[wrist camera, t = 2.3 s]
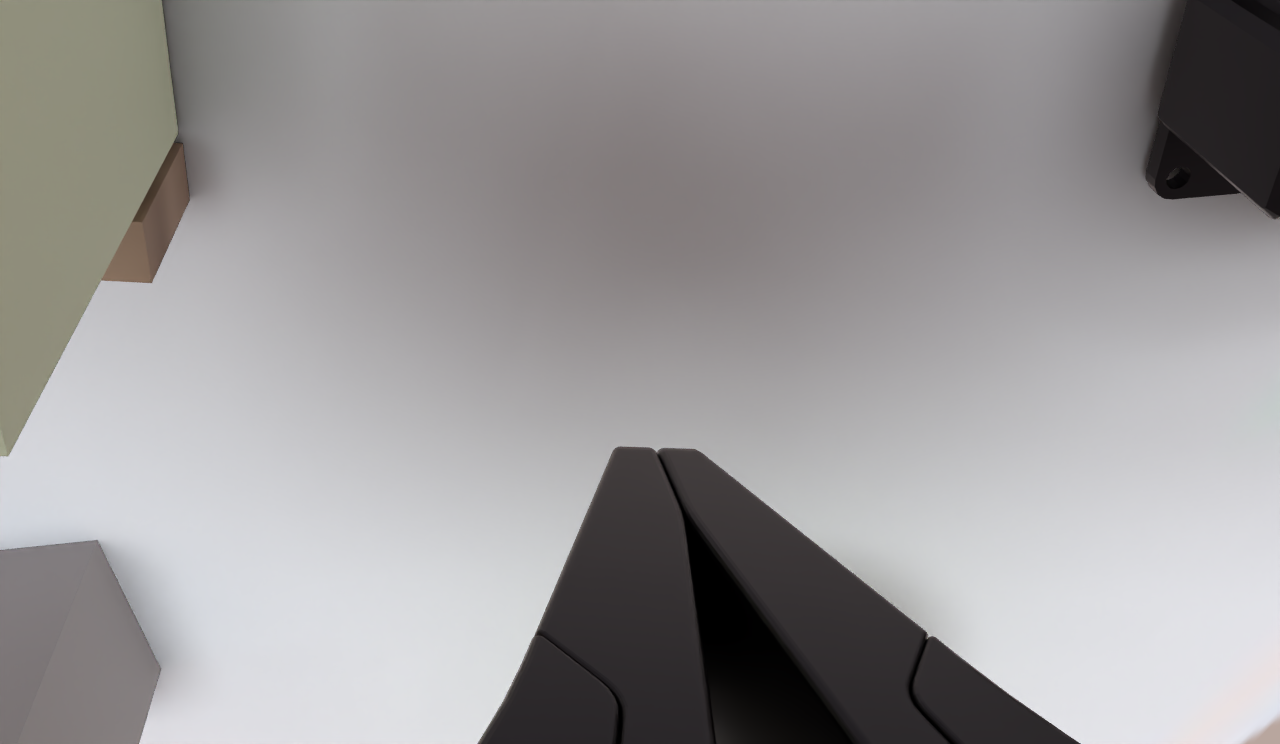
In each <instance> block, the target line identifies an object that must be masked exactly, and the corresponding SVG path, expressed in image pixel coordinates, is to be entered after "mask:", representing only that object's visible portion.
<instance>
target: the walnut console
mask: <svg viewBox="0 0 1280 744" xmlns="http://www.w3.org/2000/svg"><path fill="white" fill-rule="evenodd" d="M189 200H190V198H189V190H188V182H187V174H186V166H185V158H184V150H183V143H173V144H172V146H171V148H170V150H169V152H168V154H167V156H166V158H165V160H164V162H163V163H162V165H161V167H160V169H159V171H158V173H157V175H156V177H155V179H154V181H153V182H152V184H151V186H150V188H149V190H148V192H147V194H146V196H145V198H144V200H143V201H142V203H141V205H140V207H139V209H138V211H137V213H136V215H135V217H134V219H133V220H132V222H131V224H130V226H129V228H128V230H127V232H126V234H125V236H124V238H123V239H122V241H121V243H120V245H119V247H118V249H117V251H116V253H115V255H114V257H113V258H112V260H111V262H110V264H109V266H108V268H107V270H106V272H105V274H104V276H103V277H102V279H101V280H104V281H123V282H142V283H152V281H153V279H154V277H155V275H156V273H157V270H158V268H159V266H160V264H161V262H162V259H163V257H164V255H165V253H166V251H167V248H168V246H169V244H170V242H171V240H172V238H173V235H174V233H175V231H176V229H177V227H178V224H179V222H180V220H181V218H182V216H183V213H184V211H185V209H186V207H187V205H188V202H189Z"/></svg>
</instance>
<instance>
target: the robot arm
mask: <svg viewBox="0 0 1280 744" xmlns="http://www.w3.org/2000/svg"><path fill="white" fill-rule="evenodd" d="M1158 117H1159V119H1160V122H1159V126H1158V130H1157V133H1156V137H1155V141H1154V144H1153V148H1152V152H1151V155H1150V159H1149V163H1148V167H1147V170H1146V181H1147V183H1148V185H1149V186H1150V187H1151V188H1152V189H1153V190H1154V191H1155V192H1156V193H1157V194H1158V195H1159V196H1161V197H1162V198H1164V199H1182V198H1193V197H1204V196H1215V195H1226V194H1237V193H1242V194H1243V195H1244V196H1245V197H1247V198H1248V199H1249V200H1250V201H1251V202H1252V203H1253V204H1255V205H1256V206H1257V207H1258V208H1259V209H1260V210H1261V211H1262V212H1264V213H1265V214H1266V215H1267V216H1268V217H1270V218H1272V219H1280V0H1188V1H1187V5H1186V9H1185V12H1184V16H1183V20H1182V23H1181V27H1180V31H1179V35H1178V38H1177V42H1176V46H1175V50H1174V53H1173V57H1172V61H1171V65H1170V68H1169V72H1168V76H1167V80H1166V83H1165V87H1164V91H1163V95H1162V98H1161V102H1160V106H1159V109H1158ZM1179 167H1181V169H1180V171H1179V173H1178V174H1177V175H1176V176H1174V177H1173V178H1172V179H1168V180H1166V179H1167V177H1168V175H1169V174H1170V173H1171V172H1172V171H1173V170H1174V169H1176V168H1179ZM927 638H928V634H927V632H926V631H925V630H923V629H922V628H921V627H920V626H918V625H917V624H916V623H915V622H913V621H912V620H911V619H910V618H908V617H907V616H906V615H905V614H903V613H902V612H901V611H900V610H898V609H897V608H896V607H895V606H893V605H892V604H891V603H889V602H888V601H887V600H886V599H884V598H883V597H882V596H881V595H879V594H878V593H877V592H876V591H874V590H873V589H872V588H871V587H869V586H868V585H867V584H866V583H864V582H863V581H862V580H861V579H859V578H858V577H857V576H856V575H854V574H853V573H852V572H851V571H849V570H848V569H847V568H846V567H844V566H843V565H842V564H841V563H839V562H838V561H837V560H836V559H834V558H833V557H832V556H831V555H829V554H828V553H827V552H825V551H824V550H823V549H822V548H820V547H819V546H818V545H817V544H815V543H814V542H813V541H812V540H810V539H809V538H808V537H807V536H805V535H804V534H803V533H802V532H800V531H799V530H798V529H797V528H795V527H794V526H793V525H792V524H790V523H789V522H788V521H787V520H785V519H784V518H783V517H782V516H780V515H779V514H778V513H777V512H775V511H774V510H773V509H772V508H770V507H769V506H768V505H766V504H765V503H764V502H763V501H761V500H760V499H759V498H758V497H756V496H755V495H754V494H753V493H751V492H750V491H749V490H748V489H746V488H745V487H744V486H743V485H741V484H740V483H739V482H738V481H736V480H735V479H734V478H733V477H731V476H730V475H729V474H728V473H726V472H725V471H724V470H723V469H721V468H720V467H719V466H718V465H716V464H715V463H714V462H713V461H711V460H710V459H709V458H708V457H706V456H705V455H704V454H702V453H701V452H699V451H697V450H696V449H679V448H662V449H660V450H658V452H657V453H656V451H655V450H654V449H652V448H647V447H617V448H615V449H614V450H613V452H612V454H611V457H610V459H609V462H608V464H607V466H606V469H605V471H604V473H603V476H602V478H601V480H600V483H599V485H598V487H597V490H596V492H595V494H594V497H593V499H592V502H591V504H590V506H589V509H588V511H587V513H586V516H585V518H584V520H583V523H582V525H581V527H580V530H579V532H578V534H577V537H576V539H575V542H574V544H573V546H572V549H571V551H570V553H569V556H568V558H567V560H566V563H565V565H564V567H563V570H562V572H561V574H560V577H559V579H558V582H557V584H556V586H555V589H554V591H553V593H552V596H551V598H550V600H549V603H548V605H547V607H546V610H545V612H544V614H543V617H542V619H541V621H540V624H539V626H538V628H537V631H536V633H535V636H534V637H533V639H532V641H531V643H530V645H529V648H528V650H527V652H526V654H525V657H524V659H523V661H522V664H521V666H520V668H519V670H518V672H517V674H516V676H515V678H514V680H513V682H512V684H511V686H510V688H509V690H508V692H507V694H506V697H505V699H504V701H503V702H502V704H501V706H500V707H499V709H498V711H497V712H496V714H495V716H494V717H493V719H492V721H491V722H490V724H489V726H488V727H487V729H486V731H485V732H484V734H483V736H482V737H481V739H480V741H479V742H478V744H1080V743H1079V742H1077V741H1076V740H1074V739H1073V738H1071V737H1070V736H1068V735H1067V734H1065V733H1064V732H1062V731H1061V730H1059V729H1058V728H1057V727H1055V726H1054V725H1052V724H1051V723H1049V722H1048V721H1047V720H1045V719H1044V718H1042V717H1041V716H1039V715H1038V714H1037V713H1035V712H1034V711H1032V710H1031V709H1029V708H1028V707H1026V706H1025V705H1024V704H1022V703H1021V702H1019V701H1018V700H1016V699H1015V698H1014V697H1012V696H1011V695H1009V694H1008V693H1007V692H1005V691H1004V690H1003V689H1001V688H1000V687H999V686H998V685H996V684H995V683H994V682H992V681H991V680H990V679H988V678H987V677H986V676H984V675H983V674H982V673H980V672H979V671H978V670H976V669H975V668H974V667H972V666H971V665H970V664H969V663H967V662H966V661H965V660H963V659H962V658H961V657H959V656H958V655H957V654H956V653H954V652H953V651H952V650H951V649H949V648H948V647H947V646H946V645H944V644H943V643H942V642H941V641H939V640H938V639H937V638H936V637H933V636H931V637H929V638H928V639H927Z"/></svg>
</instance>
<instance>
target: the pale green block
mask: <svg viewBox="0 0 1280 744" xmlns="http://www.w3.org/2000/svg"><path fill="white" fill-rule="evenodd" d="M177 135H178V126H177V118H176V110H175V102H174V94H173V87H172V79H171V71H170V63H169V55H168V47H167V39H166V31H165V23H164V15H163V7H162V0H0V456H9V454H10V452H11V450H12V448H13V447H14V445H15V443H16V441H17V439H18V437H19V435H20V433H21V431H22V429H23V428H24V426H25V424H26V422H27V420H28V418H29V416H30V414H31V412H32V410H33V409H34V407H35V405H36V403H37V401H38V399H39V397H40V395H41V393H42V391H43V390H44V388H45V386H46V384H47V382H48V380H49V378H50V376H51V374H52V372H53V371H54V369H55V367H56V365H57V363H58V361H59V359H60V357H61V355H62V353H63V352H64V350H65V348H66V346H67V344H68V342H69V340H70V338H71V336H72V334H73V333H74V331H75V329H76V327H77V325H78V323H79V321H80V319H81V317H82V315H83V314H84V312H85V310H86V308H87V306H88V304H89V302H90V300H91V298H92V296H93V295H94V293H95V291H96V289H97V287H98V285H99V283H100V281H101V279H102V277H103V276H104V274H105V272H106V270H107V268H108V266H109V264H110V262H111V260H112V258H113V257H114V255H115V253H116V251H117V249H118V247H119V245H120V243H121V241H122V239H123V238H124V236H125V234H126V232H127V230H128V228H129V226H130V224H131V222H132V220H133V219H134V217H135V215H136V213H137V211H138V209H139V207H140V205H141V203H142V201H143V200H144V198H145V196H146V194H147V192H148V190H149V188H150V186H151V184H152V182H153V181H154V179H155V177H156V175H157V173H158V171H159V169H160V167H161V165H162V163H163V162H164V160H165V158H166V156H167V154H168V152H169V150H170V148H171V146H172V144H173V143H174V141H175V139H176V137H177Z"/></svg>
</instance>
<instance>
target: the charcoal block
mask: <svg viewBox="0 0 1280 744" xmlns="http://www.w3.org/2000/svg"><path fill="white" fill-rule="evenodd" d="M160 671H161V668H160V666H159V664H158V662H157V660H156V658H155V656H154V654H153V652H152V650H151V648H150V646H149V644H148V642H147V639H146V637H145V635H144V633H143V631H142V629H141V627H140V625H139V623H138V621H137V619H136V617H135V615H134V613H133V611H132V609H131V607H130V605H129V603H128V601H127V599H126V597H125V595H124V593H123V591H122V589H121V587H120V585H119V583H118V581H117V579H116V577H115V575H114V573H113V571H112V569H111V567H110V565H109V563H108V561H107V559H106V557H105V555H104V552H103V550H102V548H101V546H100V544H99V542H98V540H94V541H84V542H75V543H65V544H55V545H46V546H36V547H26V548H17V549H7V550H0V744H139V742H140V739H141V735H142V732H143V728H144V725H145V722H146V718H147V715H148V711H149V708H150V705H151V701H152V698H153V694H154V691H155V688H156V684H157V681H158V677H159V674H160Z"/></svg>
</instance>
